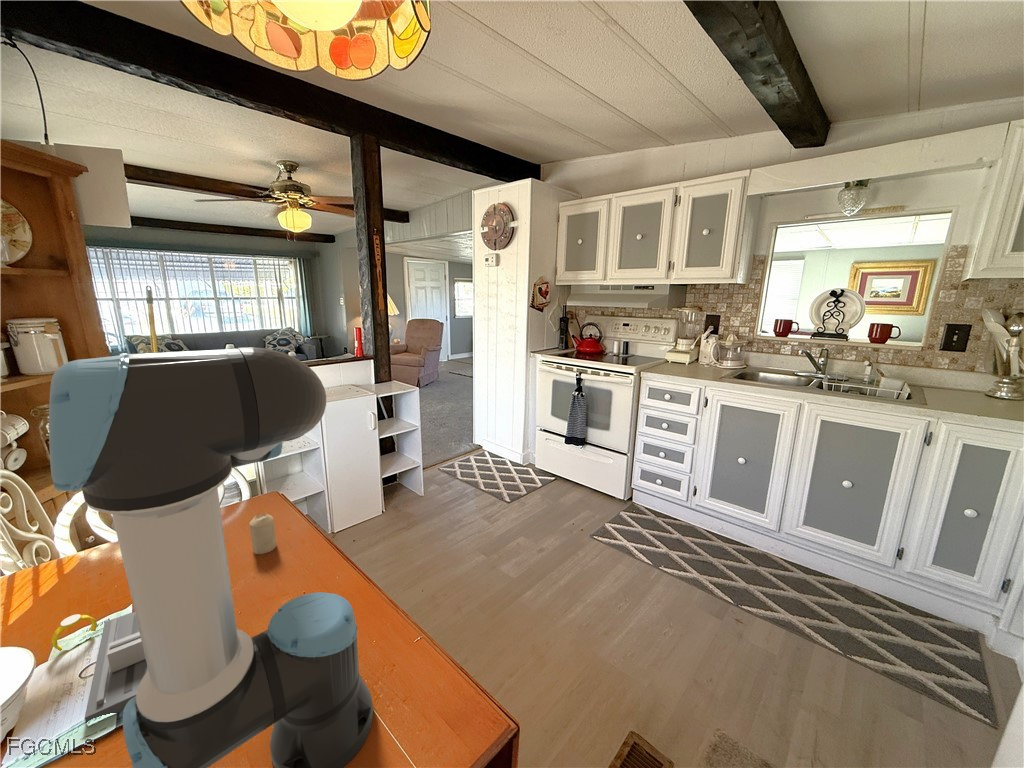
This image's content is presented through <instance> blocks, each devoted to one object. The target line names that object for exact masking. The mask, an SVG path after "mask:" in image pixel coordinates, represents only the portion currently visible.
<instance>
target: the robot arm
mask: <svg viewBox="0 0 1024 768" xmlns="http://www.w3.org/2000/svg"><path fill="white" fill-rule="evenodd" d="M50 381H51V382H50V390H49V402H48V403H49V406H48V407H49V408H48V410H49V412H48V436H49V438H48V440H49V441H48V442H49V444H48V445H49V463H50V473H51V474H50V475H51V479H52V483H53V488H54V489H55V491H57V492H70V493H75V492H77V491H80V490H81V491H82V496H83V499H84V502H85V504H86V506H88V507H89V508H90V509H91V510H94V511H96V512H100V513H104V514H110V515H112V516H111V517H112V519H113V524H114V528H115V533H116V536H117V537H116V538H117V542H118V546H119V550H120V554H121V558H122V562H123V567H124V571H125V576H126V579H127V584H128V589H129V593H130V597H131V602H132V605H133V609H134V610H133V612H134V611H135V615H136V619H137V624H138V628H139V632H140V636H141V641H142V645H143V649H144V654H145V658H146V662H147V667H148V671H147V672H146V674H145V675H144V677H143V679H142V680H141V682H140V685H139V687H138V690H137V695H136V696H135V697H133V698H132V699H131V700H129V701H128V703H127V704H126V706H125V708H124V711H122V728H123V729H122V730H123V736H124V742H125V746H126V750H127V751H126V752H127V754H128V756H129V758H130V759H131V767H132V768H209V767H211V766H212V765H214V764H215V763H217V762H218V761H220V760H221V759H223V758H224V757H226V756H227V755H229V754H230V753H232V752H233V751H234V750H236V749H238V748H239V747H241V746H242V745H244V744H245V743H246V742H247V743H248V741H249V740H251V739H253V738H255V737H256V736H258V735H259V734H261V733H262V732H263V731H265V730H266V729H268V728H270V727H271V726H272V725H273V727H272V730H271V734H270V739H269V740H270V741H269V747H270V749H269V750H270V756H271V761H272V765H273V768H345V766H346V765H348V764H349V763H350V762H351V760H353V758H354V757H355V756H356V755H357V754H358V753H359V751H360V750H361V749H362V747H363V745H364V744H365V742H366V740H367V738H368V736H369V734H370V732H371V731H370V730H371V728H372V725H373V721H374V720H373V718H374V707H373V705H374V704H373V699H372V694H371V691H370V689H369V687H368V686H367V684H366V683H365V681H364V679H363V677H362V676H361V674H360V667H359V652H358V649H359V648H358V625H357V622H356V618H355V613H354V608H353V606H352V605H351V603H350V602H349V600H348V599H346V598H345V597H343V596H341V595H339V594H336V593H333V592H332V593H331V592H329V593H328V592H325V591H322V592H320V591H317V592H310V593H305V594H302V595H299V596H296V597H295V598H292V599H291V600H288V601H287V602H284V604H283V605H281V606H280V607H279V608H278V609H277V611H275V613H274V614H273V615H272V616H271V618H270V620H269V623H268V626H267V629H266V630H263V631H262V632H260V633H258V634H256V635H254V636H252V637H251V636H249V634H247V633H246V632H245V631H243V630H241V629H238V628H237V621H236V620H237V619H236V614H235V613H236V612H235V605H234V600H233V599H234V598H233V591H232V584H231V576H230V570H229V563H228V555H227V547H226V542H225V541H226V540H225V534H224V526H223V519H222V518H223V517H222V511H221V510H222V509H221V504H220V497H219V496H220V495H219V487H220V486H221V485H223V484H224V483H225V482H226V481H227V479H228V478H229V477H230V475H231V474H232V470H233V469H234V468H237V467H241V466H242V467H243V466H247V465H251V464H255V463H262V462H265V461H267V460H270V459H274V458H277V457H279V456H280V455H281V454H282V449H283V442H289V441H293V440H297V439H299V438H301V437H303V436H304V435H306V434H307V433H309V432H310V431H312V430H313V429H314V428H315V427H316V426H317V425H318V424H319V423H320V421H321V419H322V418H323V417H324V413H325V412H326V411H325V410H326V407H327V393H326V389H325V386H324V385H323V382H322V380H321V379H320V378H319V376H318V375H317V374H316V372H315V371H314V370H313V369H312V368H311V367H309V365H307V364H306V363H304V362H303V361H301V360H300V359H298V358H296V357H295V356H291V355H289V354H287V353H285V352H282V351H277V350H274V349H270V348H264V347H253V346H252V347H250V346H249V347H235V348H226V349H225V348H221V349H209V350H208V349H207V350H206V349H205V350H187V351H168V352H167V351H164V352H148V353H147V352H146V353H127V352H125V353H124V352H122V353H119V354H118V355H112V356H104V357H103V356H102V357H95V358H86V359H85V358H83V359H81V358H80V359H75V360H71V361H67V362H66V363H64V364H62V365H61V366H59V367H58V368H57V369H56V370H55V372H54V373H53V374H52V377H51V380H50Z"/></svg>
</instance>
